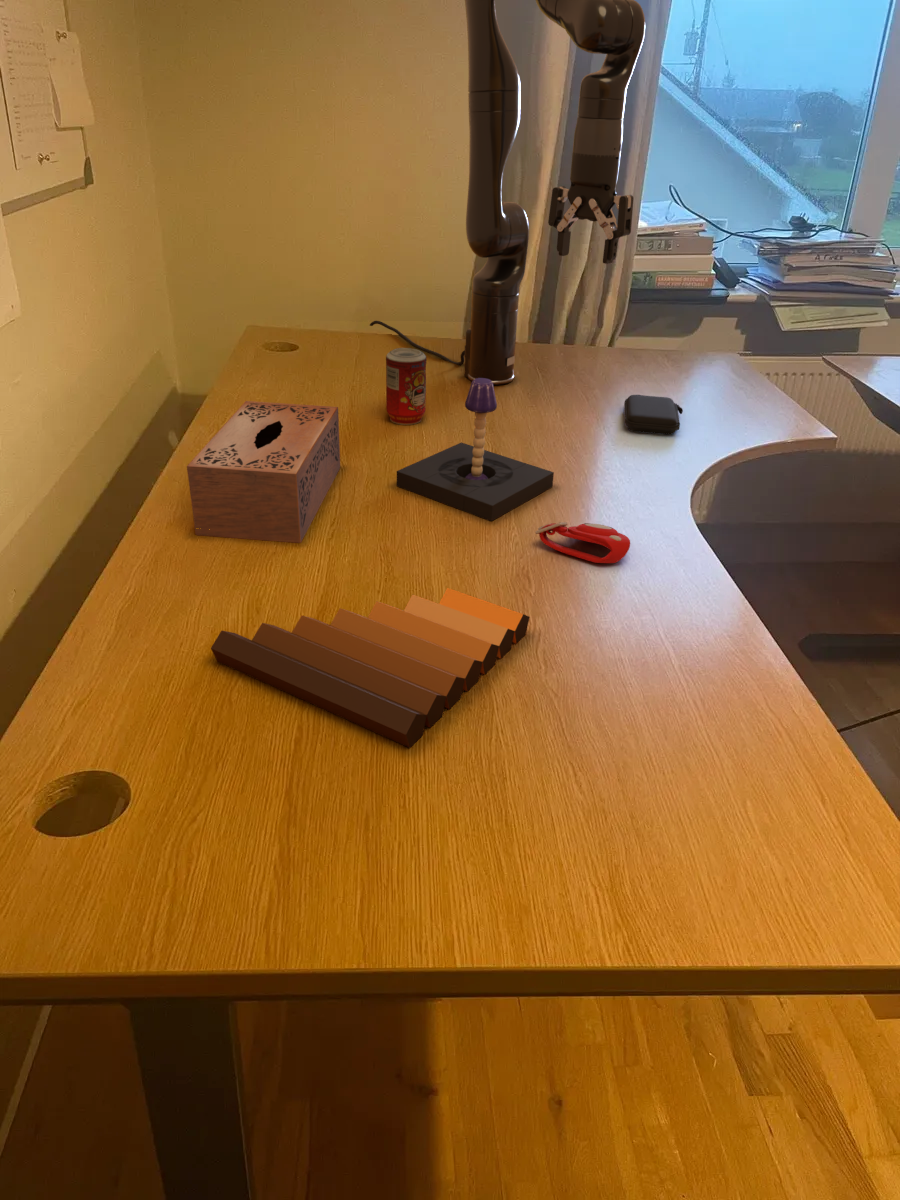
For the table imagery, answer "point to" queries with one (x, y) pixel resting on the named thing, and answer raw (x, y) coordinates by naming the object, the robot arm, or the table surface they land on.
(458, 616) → the brown ridged flat slab
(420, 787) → the table surface
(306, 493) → the tissue box cover
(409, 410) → the soda can
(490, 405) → the toy lamp
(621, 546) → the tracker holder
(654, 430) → the carrying case
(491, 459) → the socket pad
